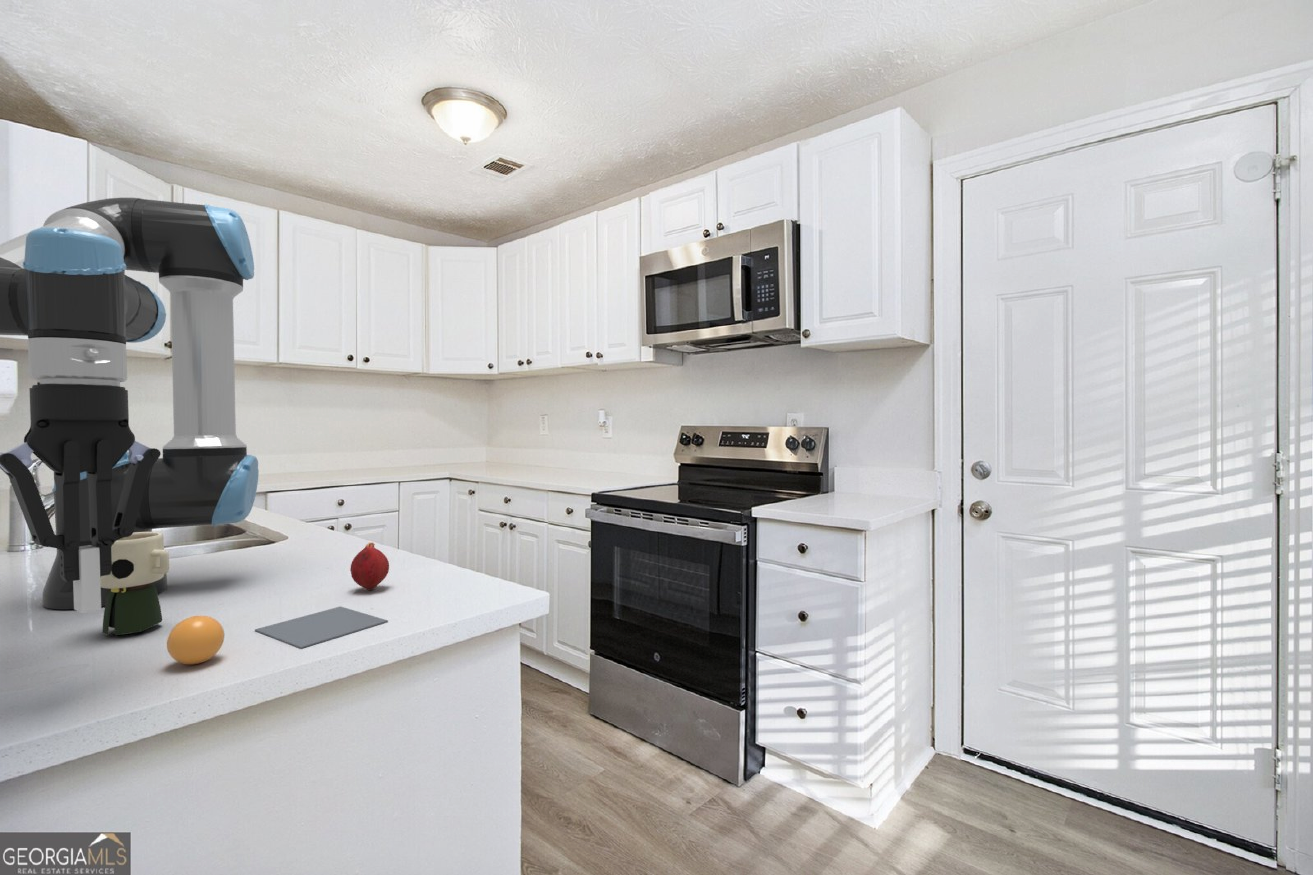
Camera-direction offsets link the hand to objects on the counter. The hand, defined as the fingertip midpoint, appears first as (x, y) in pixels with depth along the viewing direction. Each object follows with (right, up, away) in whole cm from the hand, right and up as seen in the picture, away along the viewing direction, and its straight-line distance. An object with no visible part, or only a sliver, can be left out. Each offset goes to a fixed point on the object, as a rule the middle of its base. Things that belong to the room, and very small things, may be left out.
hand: (87, 609), depth 65 cm
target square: (+13, -8, +21) cm, 26 cm away
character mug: (-12, -9, +20) cm, 24 cm away
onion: (+12, -8, +39) cm, 41 cm away
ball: (+5, -6, +9) cm, 12 cm away
